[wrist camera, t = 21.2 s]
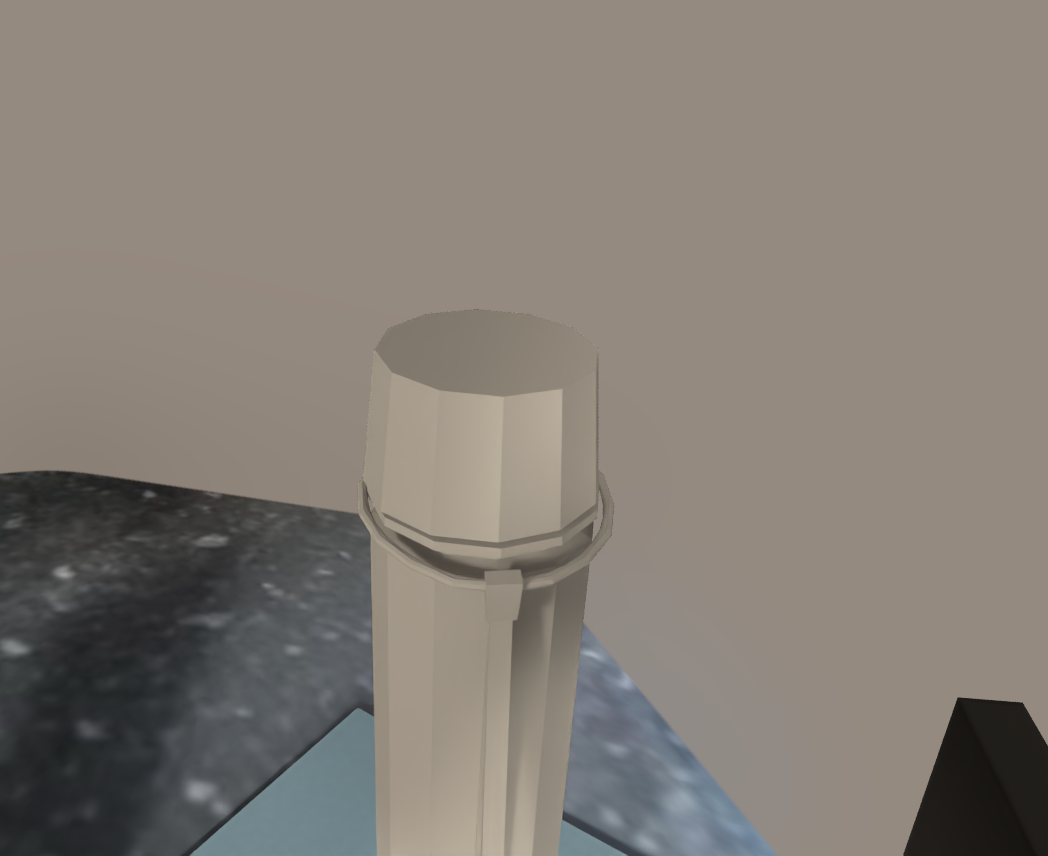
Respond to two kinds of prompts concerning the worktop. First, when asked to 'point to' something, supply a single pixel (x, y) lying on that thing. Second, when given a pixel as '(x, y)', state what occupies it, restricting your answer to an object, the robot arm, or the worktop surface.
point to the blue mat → (333, 806)
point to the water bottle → (478, 575)
